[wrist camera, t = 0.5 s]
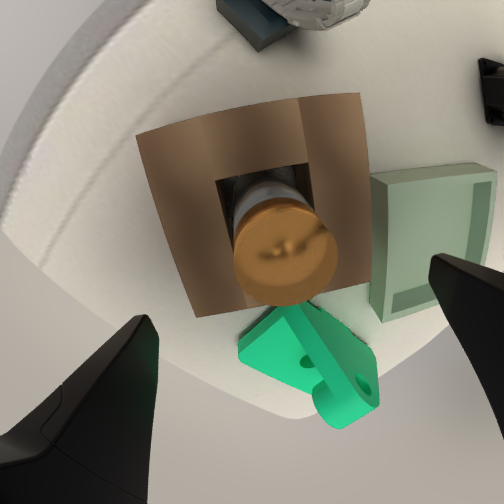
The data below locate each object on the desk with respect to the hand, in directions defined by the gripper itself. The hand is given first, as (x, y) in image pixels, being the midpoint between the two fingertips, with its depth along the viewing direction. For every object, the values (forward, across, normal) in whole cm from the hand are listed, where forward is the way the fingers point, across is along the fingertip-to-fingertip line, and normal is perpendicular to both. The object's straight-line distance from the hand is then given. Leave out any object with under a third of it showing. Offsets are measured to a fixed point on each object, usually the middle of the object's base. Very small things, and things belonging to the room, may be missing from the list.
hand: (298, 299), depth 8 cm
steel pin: (+13, 0, 0) cm, 13 cm away
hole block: (+13, 0, 0) cm, 13 cm away
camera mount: (+13, -2, +16) cm, 21 cm away
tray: (+13, -14, +6) cm, 20 cm away
